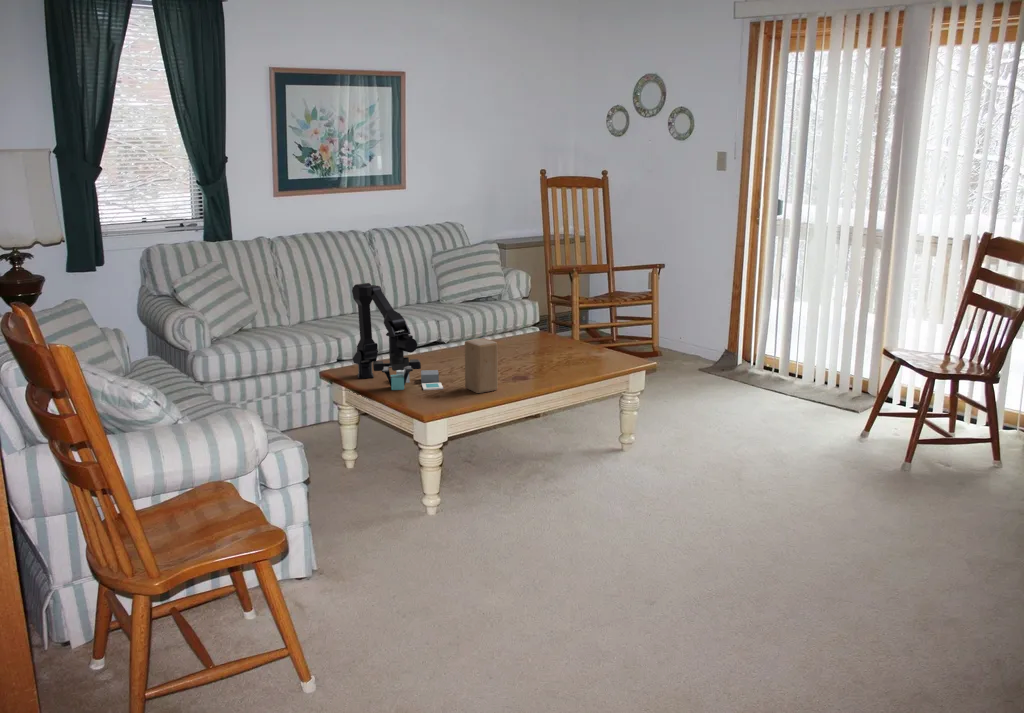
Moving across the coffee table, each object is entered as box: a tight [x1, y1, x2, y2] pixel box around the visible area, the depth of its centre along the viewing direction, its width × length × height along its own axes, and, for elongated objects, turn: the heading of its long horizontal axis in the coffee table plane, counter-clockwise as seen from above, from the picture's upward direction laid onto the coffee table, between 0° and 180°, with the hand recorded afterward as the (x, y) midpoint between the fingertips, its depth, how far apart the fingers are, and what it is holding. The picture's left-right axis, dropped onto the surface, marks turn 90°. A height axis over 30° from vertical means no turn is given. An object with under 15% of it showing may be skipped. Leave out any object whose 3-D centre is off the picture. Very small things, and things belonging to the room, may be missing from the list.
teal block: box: [390, 374, 405, 391], centre depth 363 cm, size 5×5×5 cm
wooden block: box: [464, 337, 499, 394], centre depth 360 cm, size 10×10×20 cm
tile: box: [421, 381, 444, 391], centre depth 366 cm, size 8×8×1 cm
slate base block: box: [420, 369, 440, 384], centre depth 374 cm, size 7×7×4 cm
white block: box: [395, 370, 411, 384], centre depth 373 cm, size 5×5×5 cm
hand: (397, 385), depth 364 cm, fingers closed on teal block, 5 cm apart
